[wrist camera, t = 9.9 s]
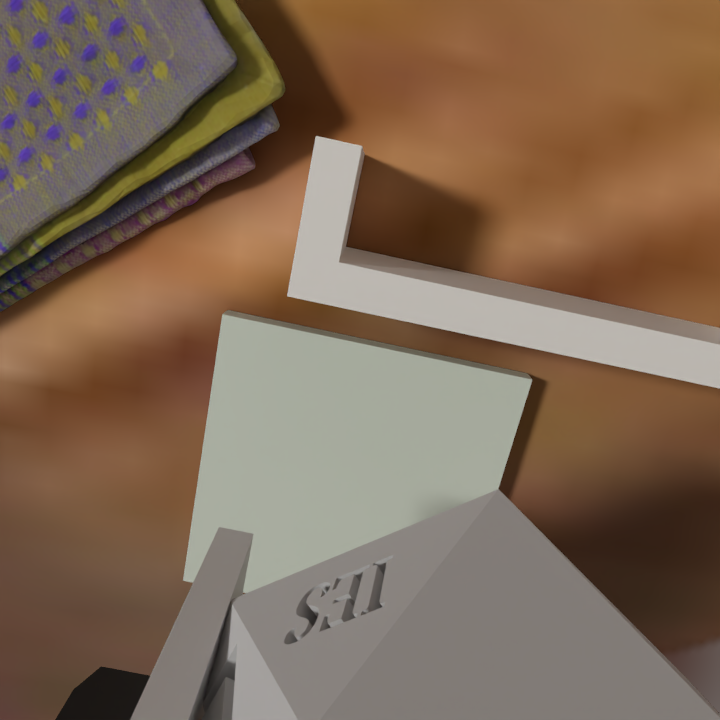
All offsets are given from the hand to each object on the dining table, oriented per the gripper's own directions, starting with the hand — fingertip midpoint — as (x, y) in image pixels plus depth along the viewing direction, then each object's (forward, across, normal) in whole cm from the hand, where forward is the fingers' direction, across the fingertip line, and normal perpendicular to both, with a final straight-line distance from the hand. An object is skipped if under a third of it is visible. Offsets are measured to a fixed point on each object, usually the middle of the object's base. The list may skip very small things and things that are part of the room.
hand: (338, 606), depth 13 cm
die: (+1, +2, 0) cm, 2 cm away
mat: (+6, 0, 0) cm, 6 cm away
